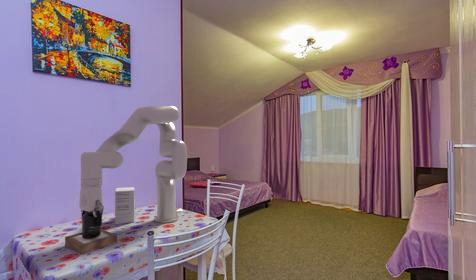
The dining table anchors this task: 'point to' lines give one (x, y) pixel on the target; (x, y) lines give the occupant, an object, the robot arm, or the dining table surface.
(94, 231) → the supplement bottle
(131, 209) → the supplement box
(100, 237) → the dock
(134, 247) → the dining table surface
